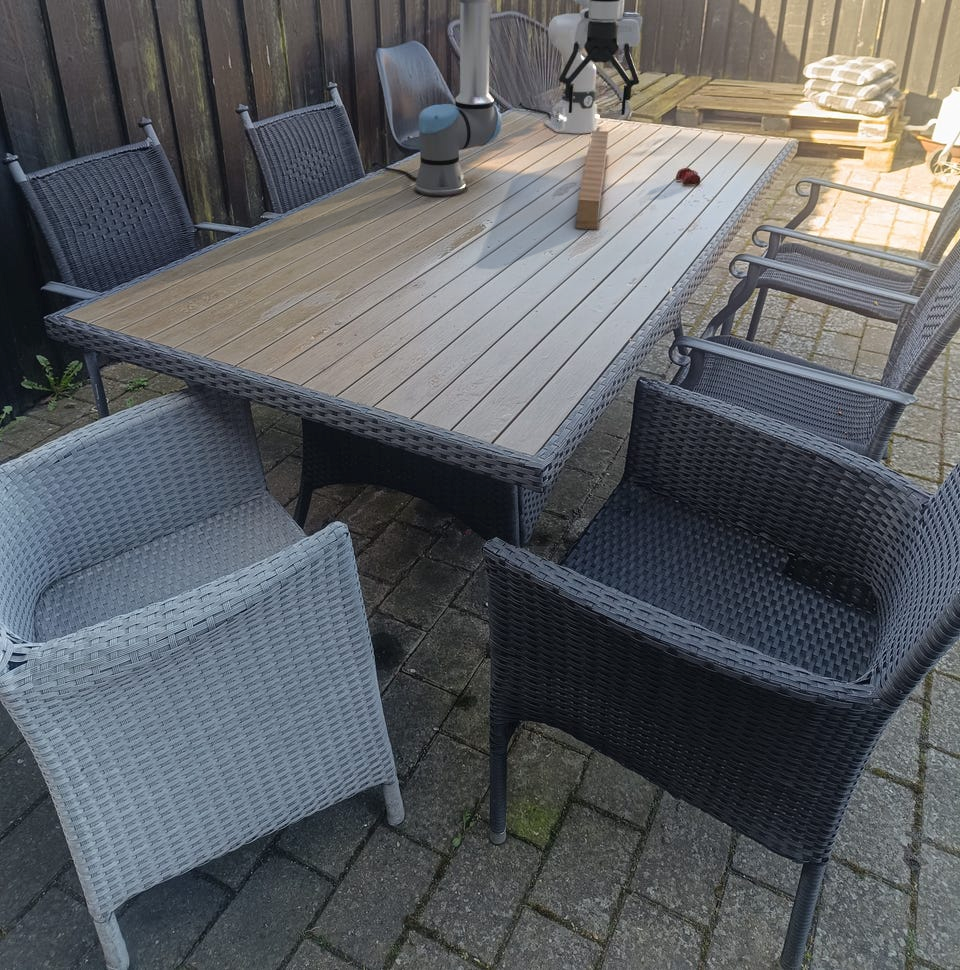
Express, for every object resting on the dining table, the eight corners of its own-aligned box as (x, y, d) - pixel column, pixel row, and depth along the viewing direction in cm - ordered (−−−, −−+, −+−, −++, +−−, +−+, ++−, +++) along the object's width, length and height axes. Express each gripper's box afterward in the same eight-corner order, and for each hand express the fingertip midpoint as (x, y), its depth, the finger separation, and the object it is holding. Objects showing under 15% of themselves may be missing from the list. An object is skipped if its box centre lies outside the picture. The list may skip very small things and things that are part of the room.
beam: (596, 229, 229) (599, 200, 224) (576, 228, 230) (578, 199, 225) (606, 155, 291) (608, 131, 287) (590, 154, 292) (591, 130, 287)
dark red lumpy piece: (691, 164, 266) (703, 171, 259) (690, 177, 268) (701, 185, 262) (675, 166, 265) (686, 173, 258) (673, 179, 267) (684, 187, 261)
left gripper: (654, 19, 208) (645, 111, 220) (554, 17, 211) (549, 108, 223) (655, 23, 202) (645, 117, 214) (551, 21, 205) (547, 114, 217)
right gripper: (643, 11, 261) (638, 60, 269) (577, 10, 263) (574, 59, 271) (643, 13, 255) (638, 64, 264) (575, 12, 258) (572, 62, 266)
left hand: (596, 112), depth 219 cm, fingers open, 13 cm apart
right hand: (605, 61), depth 267 cm, fingers open, 8 cm apart
